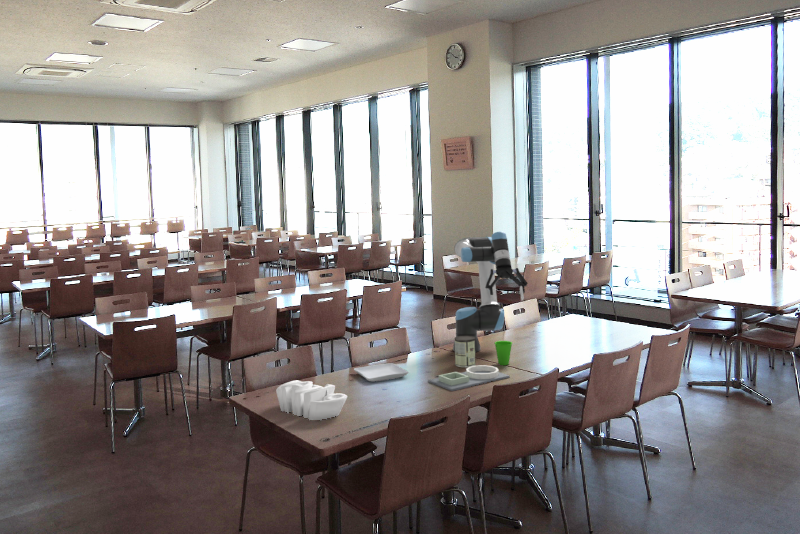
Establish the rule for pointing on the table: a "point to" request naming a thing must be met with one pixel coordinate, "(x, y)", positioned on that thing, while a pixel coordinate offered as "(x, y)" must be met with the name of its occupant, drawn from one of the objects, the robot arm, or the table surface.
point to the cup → (503, 351)
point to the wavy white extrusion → (310, 400)
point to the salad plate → (381, 372)
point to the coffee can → (465, 351)
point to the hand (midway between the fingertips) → (508, 300)
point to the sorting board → (469, 377)
